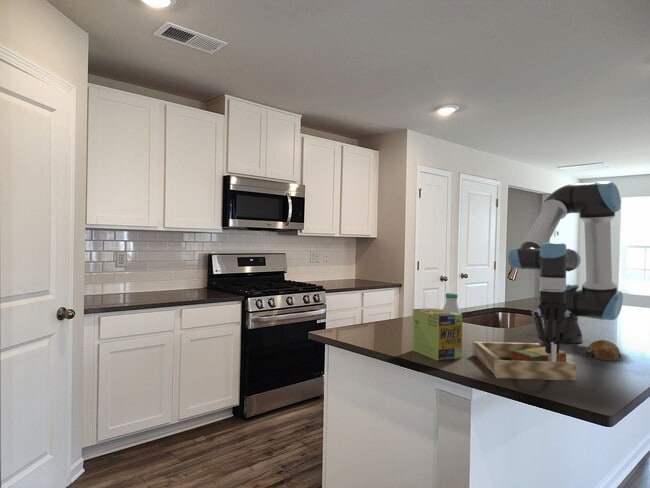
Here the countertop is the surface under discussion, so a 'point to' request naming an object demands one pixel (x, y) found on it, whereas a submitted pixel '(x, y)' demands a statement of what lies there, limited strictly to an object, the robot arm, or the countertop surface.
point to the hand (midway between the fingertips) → (552, 363)
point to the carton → (536, 355)
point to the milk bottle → (451, 303)
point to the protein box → (437, 333)
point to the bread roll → (603, 351)
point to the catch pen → (520, 362)
